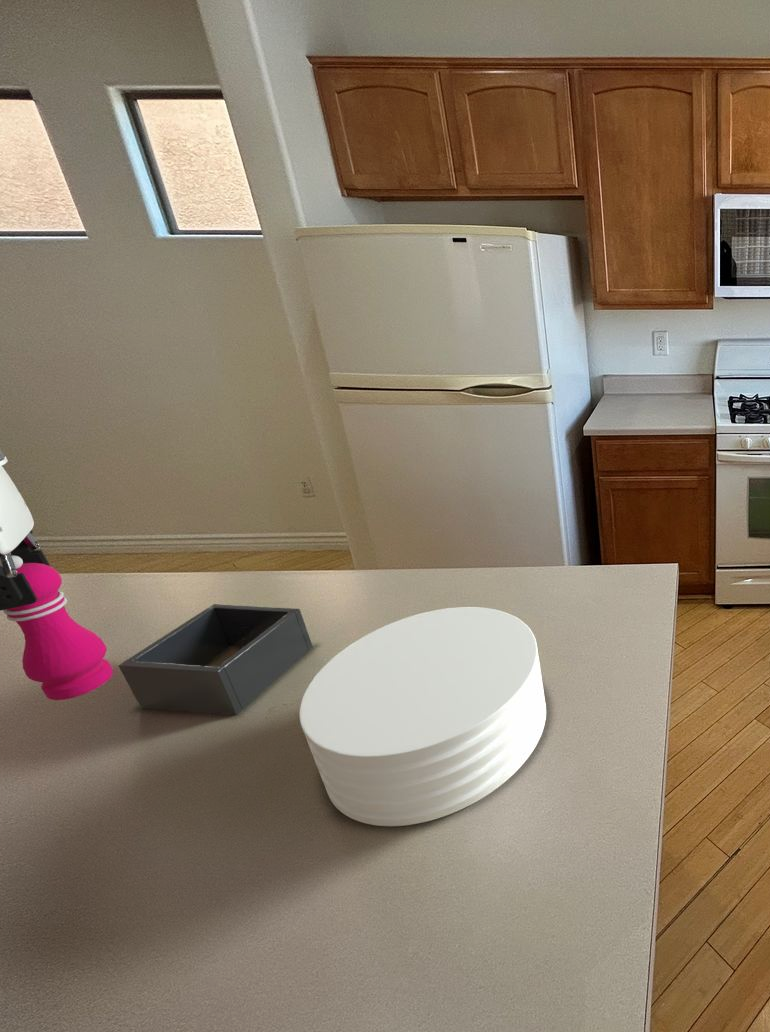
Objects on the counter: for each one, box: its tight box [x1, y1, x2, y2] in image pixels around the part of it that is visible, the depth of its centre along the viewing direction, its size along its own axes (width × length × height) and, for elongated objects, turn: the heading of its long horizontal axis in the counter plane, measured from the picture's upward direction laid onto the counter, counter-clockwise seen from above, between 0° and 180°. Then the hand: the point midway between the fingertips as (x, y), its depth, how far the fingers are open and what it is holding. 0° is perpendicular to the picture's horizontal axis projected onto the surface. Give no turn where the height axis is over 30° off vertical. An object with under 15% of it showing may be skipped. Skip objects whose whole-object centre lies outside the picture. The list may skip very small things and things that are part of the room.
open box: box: [117, 603, 314, 716], centre depth 86 cm, size 15×15×8 cm
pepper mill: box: [0, 556, 114, 701], centre depth 71 cm, size 7×7×20 cm
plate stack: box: [299, 606, 547, 827], centre depth 76 cm, size 28×28×12 cm
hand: (27, 591), depth 69 cm, fingers closed on pepper mill, 6 cm apart
